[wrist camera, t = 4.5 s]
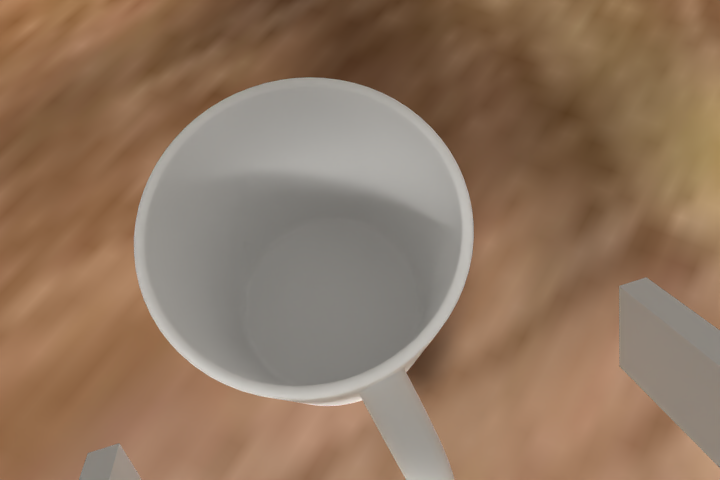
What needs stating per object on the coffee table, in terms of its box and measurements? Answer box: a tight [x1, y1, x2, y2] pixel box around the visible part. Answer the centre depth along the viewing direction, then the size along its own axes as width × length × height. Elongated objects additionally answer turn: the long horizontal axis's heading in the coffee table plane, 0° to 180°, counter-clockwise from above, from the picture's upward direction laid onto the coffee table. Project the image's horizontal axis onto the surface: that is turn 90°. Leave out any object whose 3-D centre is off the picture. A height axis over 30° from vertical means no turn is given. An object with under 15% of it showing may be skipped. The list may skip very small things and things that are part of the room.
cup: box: [134, 77, 474, 480], centre depth 17 cm, size 8×12×10 cm
